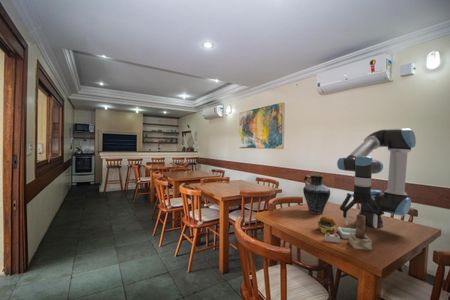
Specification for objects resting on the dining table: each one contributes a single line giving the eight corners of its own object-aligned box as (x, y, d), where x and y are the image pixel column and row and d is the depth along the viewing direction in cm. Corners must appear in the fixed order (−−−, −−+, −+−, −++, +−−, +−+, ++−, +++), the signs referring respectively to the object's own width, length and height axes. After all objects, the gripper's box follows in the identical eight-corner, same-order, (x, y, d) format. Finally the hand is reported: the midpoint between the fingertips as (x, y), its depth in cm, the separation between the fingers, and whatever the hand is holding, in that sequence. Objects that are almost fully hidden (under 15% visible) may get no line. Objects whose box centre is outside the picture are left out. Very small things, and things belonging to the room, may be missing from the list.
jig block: (365, 243, 119) (365, 234, 118) (371, 250, 111) (371, 241, 111) (349, 241, 120) (349, 232, 120) (353, 248, 113) (354, 239, 112)
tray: (356, 233, 132) (356, 229, 132) (363, 240, 122) (363, 236, 122) (337, 231, 135) (337, 227, 135) (342, 238, 125) (342, 233, 124)
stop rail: (338, 241, 121) (338, 233, 121) (339, 242, 119) (339, 235, 119) (325, 239, 122) (325, 232, 122) (325, 240, 120) (326, 233, 120)
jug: (333, 213, 170) (335, 175, 170) (323, 218, 157) (324, 177, 156) (308, 207, 186) (309, 172, 185) (296, 211, 172) (297, 173, 171)
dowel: (362, 237, 117) (363, 215, 117) (365, 240, 113) (366, 217, 113) (354, 236, 118) (355, 214, 118) (357, 239, 114) (358, 216, 114)
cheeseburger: (314, 230, 134) (316, 214, 136) (320, 230, 142) (322, 214, 143) (331, 235, 127) (333, 218, 129) (337, 235, 134) (339, 218, 136)
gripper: (386, 186, 115) (384, 225, 116) (334, 182, 121) (332, 220, 122) (393, 188, 108) (391, 231, 108) (338, 184, 114) (336, 225, 114)
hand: (360, 225), depth 115 cm, fingers open, 13 cm apart
